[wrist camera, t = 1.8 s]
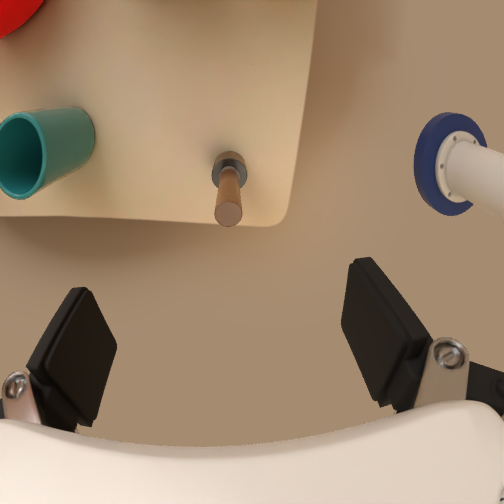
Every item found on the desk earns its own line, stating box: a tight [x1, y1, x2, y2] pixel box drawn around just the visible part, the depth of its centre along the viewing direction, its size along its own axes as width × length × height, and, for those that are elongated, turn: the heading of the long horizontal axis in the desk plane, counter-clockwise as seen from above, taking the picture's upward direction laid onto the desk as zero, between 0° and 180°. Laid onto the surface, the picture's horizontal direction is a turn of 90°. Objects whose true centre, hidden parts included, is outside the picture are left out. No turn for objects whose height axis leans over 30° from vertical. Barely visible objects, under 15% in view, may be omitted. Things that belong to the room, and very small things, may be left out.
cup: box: [0, 106, 95, 200], centre depth 23 cm, size 9×12×11 cm
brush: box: [212, 151, 247, 227], centre depth 25 cm, size 4×4×16 cm
